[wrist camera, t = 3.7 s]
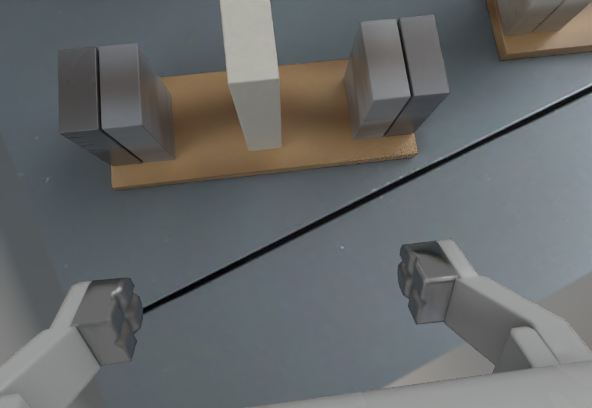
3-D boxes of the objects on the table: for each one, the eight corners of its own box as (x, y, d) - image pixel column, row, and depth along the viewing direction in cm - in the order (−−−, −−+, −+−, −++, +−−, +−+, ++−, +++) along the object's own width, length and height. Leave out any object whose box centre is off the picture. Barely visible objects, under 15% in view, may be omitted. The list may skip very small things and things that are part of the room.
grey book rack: (413, 157, 29) (458, 117, 21) (117, 190, 28) (55, 160, 20) (396, 60, 30) (431, -9, 23) (113, 88, 29) (54, 25, 22)
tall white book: (282, 148, 27) (279, 78, 18) (248, 151, 27) (227, 83, 17) (274, 84, 28) (267, -17, 18) (242, 87, 28) (218, -12, 18)
